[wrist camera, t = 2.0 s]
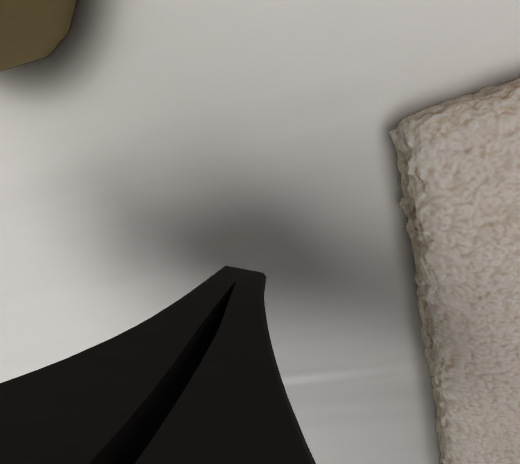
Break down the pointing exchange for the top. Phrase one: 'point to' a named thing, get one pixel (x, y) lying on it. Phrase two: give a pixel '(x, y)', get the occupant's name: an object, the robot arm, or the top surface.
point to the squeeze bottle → (32, 29)
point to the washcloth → (468, 265)
